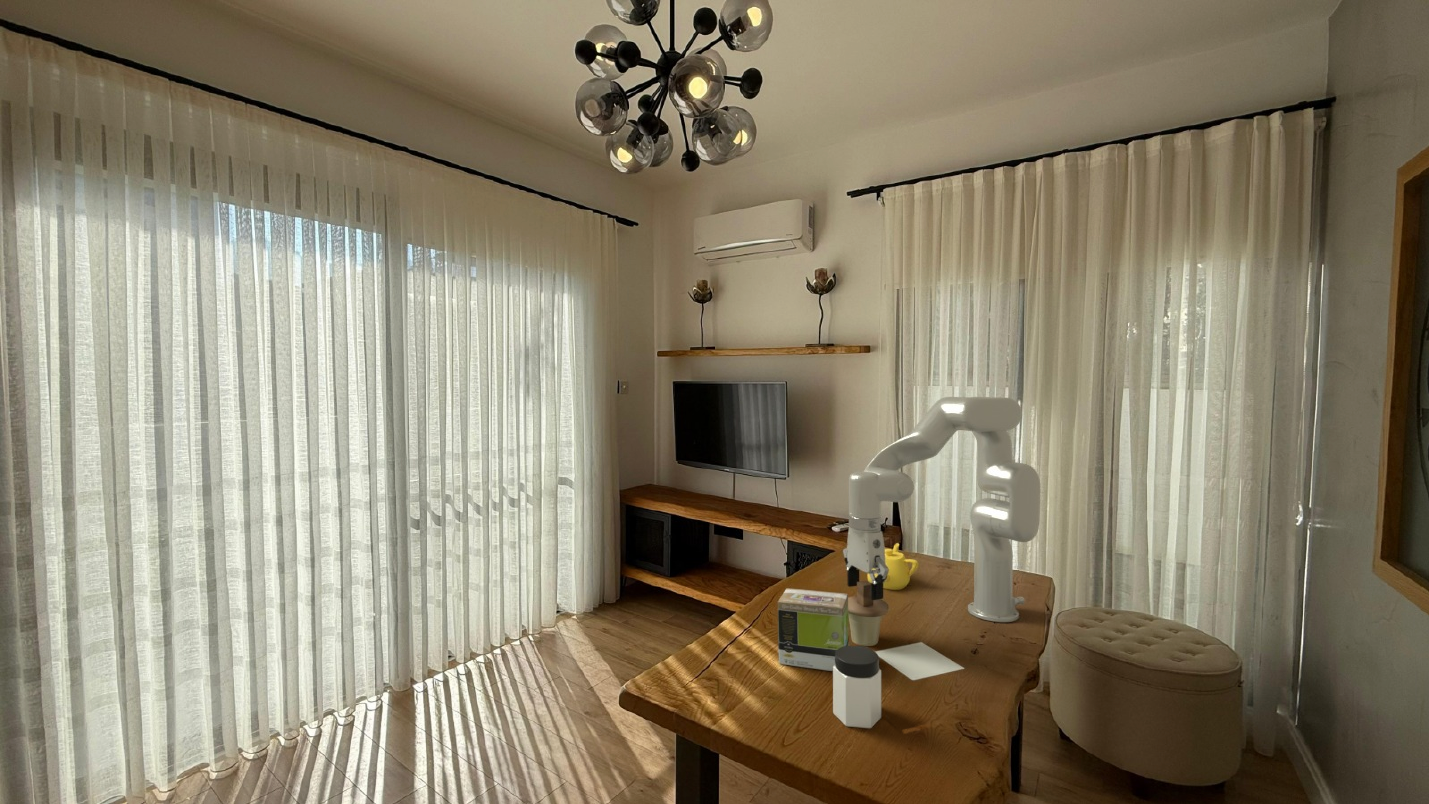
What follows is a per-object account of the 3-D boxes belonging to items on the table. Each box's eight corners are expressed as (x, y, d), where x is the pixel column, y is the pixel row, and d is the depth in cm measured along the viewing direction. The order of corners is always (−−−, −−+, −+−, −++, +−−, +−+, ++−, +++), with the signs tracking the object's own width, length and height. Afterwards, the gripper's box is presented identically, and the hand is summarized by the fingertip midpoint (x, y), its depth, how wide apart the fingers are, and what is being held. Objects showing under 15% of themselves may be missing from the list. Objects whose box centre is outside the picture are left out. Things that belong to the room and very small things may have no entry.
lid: (871, 597, 149) (871, 573, 149) (898, 613, 139) (898, 587, 139) (833, 603, 146) (833, 578, 146) (858, 619, 135) (858, 593, 135)
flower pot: (886, 653, 137) (886, 617, 137) (845, 649, 139) (845, 614, 139) (883, 636, 146) (883, 602, 146) (844, 633, 148) (844, 599, 148)
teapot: (910, 599, 171) (910, 563, 170) (858, 590, 179) (858, 555, 178) (925, 577, 189) (926, 545, 189) (878, 570, 198) (878, 538, 197)
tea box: (849, 654, 137) (849, 592, 136) (844, 675, 127) (844, 608, 127) (786, 646, 141) (786, 585, 141) (777, 665, 132) (776, 600, 131)
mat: (921, 644, 141) (921, 642, 141) (964, 671, 128) (964, 668, 128) (872, 654, 136) (872, 652, 136) (912, 683, 123) (912, 680, 123)
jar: (848, 698, 117) (848, 640, 117) (886, 713, 112) (886, 652, 112) (826, 718, 111) (826, 656, 110) (866, 735, 105) (866, 670, 105)
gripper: (900, 529, 135) (900, 602, 135) (857, 514, 151) (857, 579, 152) (873, 533, 132) (873, 607, 133) (832, 517, 148) (832, 583, 149)
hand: (864, 592), depth 142 cm, fingers open, 9 cm apart
